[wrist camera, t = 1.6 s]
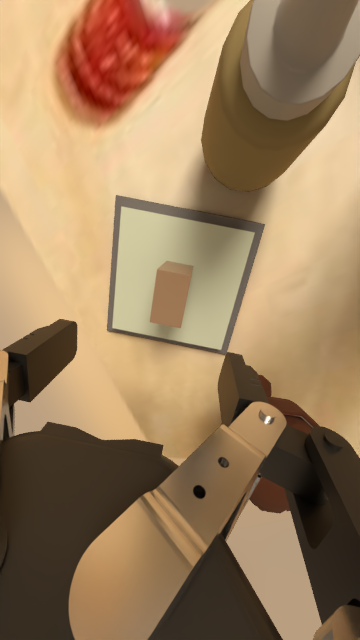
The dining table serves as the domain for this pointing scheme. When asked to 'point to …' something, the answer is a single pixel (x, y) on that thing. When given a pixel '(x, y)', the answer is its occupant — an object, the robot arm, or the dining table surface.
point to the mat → (194, 216)
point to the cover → (177, 277)
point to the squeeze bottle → (277, 86)
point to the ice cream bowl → (266, 491)
